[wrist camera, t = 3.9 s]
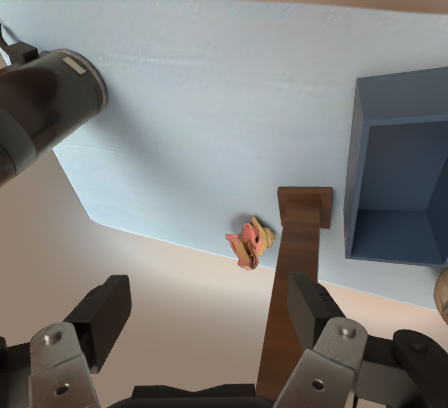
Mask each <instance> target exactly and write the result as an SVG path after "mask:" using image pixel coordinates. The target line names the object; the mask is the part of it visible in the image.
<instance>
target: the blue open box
mask: <svg viewBox="0 0 448 408" xmlns="http://www.w3.org/2000/svg"><path fill="white" fill-rule="evenodd" d="M343 211H344V236H345V258H346V259H356V260H367V261H377V262H388V263H398V264H409V265H419V266H429V267H440V268H448V67H443V68H435V69H427V70H420V71H412V72H404V73H397V74H389V75H381V76H373V77H366V78H358V79H357V80H356V90H355V100H354V110H353V120H352V130H351V139H350V149H349V159H348V169H347V179H346V188H345V198H344V208H343Z"/></svg>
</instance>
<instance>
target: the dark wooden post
mask: <svg viewBox="0 0 448 408" xmlns="http://www.w3.org/2000/svg"><path fill="white" fill-rule="evenodd" d="M277 194H278V202H279V210H280V218H281V225H282V226H283V231H282V236H281V242H280V248H279V254H278V260H277V266H276V272H275V278H274V284H273V290H272V296H271V302H270V308H269V314H268V320H267V326H266V331H265V337H264V343H263V349H262V356H261V361H260V367H259V373H258V379H257V385H256V391H255V393H256V395H259V396H263V397H265V398H268V399H270V400H272V401H274V402H276V401H277V399H278V397H279V395H280V393H281V392H282V390H283V388H284V386H285V385H286V383H287V381H288V379H289V378H290V376H291V374H292V372H293V371H294V369H295V367H296V365H297V364H298V362H299V360H300V358H301V357H302V355H303V353H304V351H303V348H302V346H301V343H300V341H299V338H298V335H297V333H296V330H295V328H294V325H293V323H292V320H291V317H290V315H289V312H288V306H287V294H288V275H289V272H305V273H306V274H307V276H308V278H309V279H310V281H311V282H318V266H319V242H320V228H323V229H330V216H331V198H332V187H278V192H277Z"/></svg>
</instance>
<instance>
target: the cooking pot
mask: <svg viewBox="0 0 448 408" xmlns="http://www.w3.org/2000/svg"><path fill="white" fill-rule="evenodd" d="M434 300H435V304H436V307H437V310H438V311H439V313H440V315H441V316H442V318H443V319H444V321H445V322H446V324H447V325H448V268H446V269H445V270H444V271H443V272H442V273H441V274H440V276H439V278H438V280H437V282H436V284H435V289H434Z"/></svg>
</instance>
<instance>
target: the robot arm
mask: <svg viewBox="0 0 448 408" xmlns="http://www.w3.org/2000/svg"><path fill="white" fill-rule="evenodd" d="M0 47H1V48H2V50H3V51H4V52H6V53H7V54H8V55H9V58H10V61H11V64H12V65H9V66H7V67H5V68H2V69H0V188H1V187H2V186H4V185H5V184H6V183H8V182H9V181H10V180H12V179H13V178H14V177H15V176H17V175H18V174H19V173H21V172H22V171H23V170H25V169H26V168H27V167H29V166H30V165H31V164H32V163H34V162H35V161H36V160H37V159H39V158H40V157H41V156H43V155H44V154H45V153H47V152H48V151H49V150H51V149H52V148H53V147H54V146H56V145H57V144H58V143H60V142H61V141H62V140H64V139H65V138H66V137H68V136H69V135H70V134H71V133H73V132H74V131H75V130H77V129H78V128H79V127H81V126H82V125H83V124H84V123H86V122H87V121H88V120H90V119H91V118H92V117H94V116H95V115H97V114H99V113H100V112H101V111H103V110H104V108H105V107H106V104H107V92H106V88H105V85H104V83H103V81H102V79H101V77H100V75H99V74H98V72H97V71H96V70H95V68H94V67H93V66H92V65H91V64H90V63H89V62H88V61H87V60H86V59H85V58H83V57H82V56H81V55H79V54H77V53H76V52H74V51H71V50H68V49H56V50H54V51H52V52H48V51H43V52H41V53H39V54H38V50H37V48H35V47H33V46H31V45H28V44H26V43H24V42H18V43H15V44H12V45H9V46H8V45H7V43H6V42H5V41H4V39H3V37H2V32H1V24H0ZM287 306H288V312H289V315H290V317H291V320H292V323H293V325H294V328H295V330H296V333H297V335H298V338H299V341H300V343H301V346H302V348H303V351H304V353H303V355H302V357H301V358H300V360H299V362H298V364H297V365H296V367H295V369H294V371H293V372H292V374H291V376H290V378H289V379H288V381H287V383H286V385H285V386H284V388H283V390H282V392H281V393H280V395H279V397H278V399H277V401H276V402H274V401H272V400H270V399H268V398H265V397H263V396H259V395H256V393H255V385H254V384H224V385H220V386H216V387H212V388H209V389H205V390H201V391H197V392H190V391H186V390H182V389H177V388H173V387H169V386H165V385H155V386H135V387H134V390H133V393H132V396H131V397H130V398H126V399H124V400H121V401H119V402H117V403H114V404H112V405H111V406H109V407H107V408H358V405H359V401H360V398H361V399H365V400H368V401H372V402H376V403H379V404H383V405H386V407H387V408H448V354H447V352H446V351H445V350H444V349H443V348H442V347H441V346H440V345H439V344H438V343H437V342H435V341H434V340H433V339H431V338H430V337H428V336H426V335H424V334H422V333H419V332H416V331H413V330H406V329H404V330H403V329H402V330H398V331H396V332H395V333H394V335H393V340H389V339H384V338H379V337H374V336H371V335H368V333H367V331H366V329H365V328H364V327H363V326H362V325H361V324H359V323H358V322H356V321H354V320H351V319H348V318H346V317H345V315H344V314H343V312H342V311H341V309H340V308H339V307H338V305H337V304H336V303H335V301H334V300H333V298H332V297H331V296H330V294H329V293H328V291H327V290H326V288H325V287H323V286H322V285H320V284H319V283H318V282H311V281H310V279H309V278H308V276H307V274H306V273H305V272H289V275H288V294H287ZM131 307H132V302H131V293H130V284H129V278H128V276H127V275H111V276H110V277H109V278H108V279H107V280H106V282H105V283H104V284H103V285H99V286H98V287H96V288H94V289H93V290H91V291H90V292H89V293H88V294H87V295H86V296H85V297H84V299H83V300H82V301H81V302H80V303H79V305H78V306H76V307H75V308H74V309H73V311H72V312H71V313H70V314H69V315H68V316H67V317H66V318H65V319H64V321H63V322H61V323H56V324H52V325H50V326H47V327H45V328H43V329H42V330H40V331H39V332H37V333H36V334H35V335H34V336H33V337H32V339H31V341H30V342H28V343H24V344H20V345H15V346H11V347H7V345H6V340H5V338H3V337H0V408H28V407H30V408H101V406H100V403H99V400H98V396H97V393H96V390H95V387H94V384H93V381H92V377H91V374H98V373H99V372H100V370H101V368H102V366H103V364H104V362H105V361H106V359H107V357H108V355H109V353H110V351H111V349H112V348H113V346H114V344H115V342H116V340H117V338H118V336H119V334H120V333H121V331H122V329H123V327H124V325H125V324H126V322H127V320H128V318H129V316H130V313H131Z"/></svg>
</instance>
